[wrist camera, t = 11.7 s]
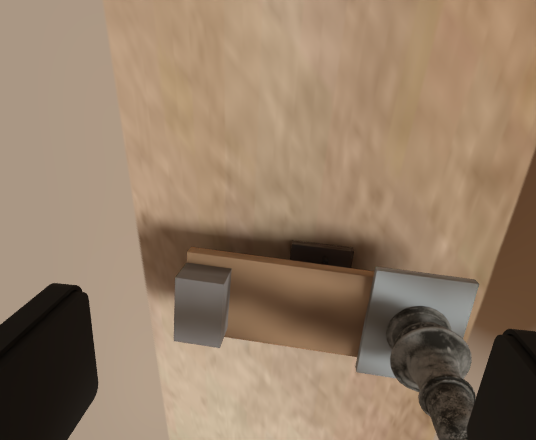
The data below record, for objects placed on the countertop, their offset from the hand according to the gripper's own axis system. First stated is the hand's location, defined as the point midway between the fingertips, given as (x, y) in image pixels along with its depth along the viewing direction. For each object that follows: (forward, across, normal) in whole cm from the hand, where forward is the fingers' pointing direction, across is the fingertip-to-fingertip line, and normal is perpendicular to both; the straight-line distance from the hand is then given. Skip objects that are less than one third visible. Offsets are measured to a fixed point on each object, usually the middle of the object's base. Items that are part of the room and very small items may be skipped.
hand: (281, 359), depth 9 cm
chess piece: (+21, -11, +13) cm, 27 cm away
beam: (+23, -3, +13) cm, 27 cm away
